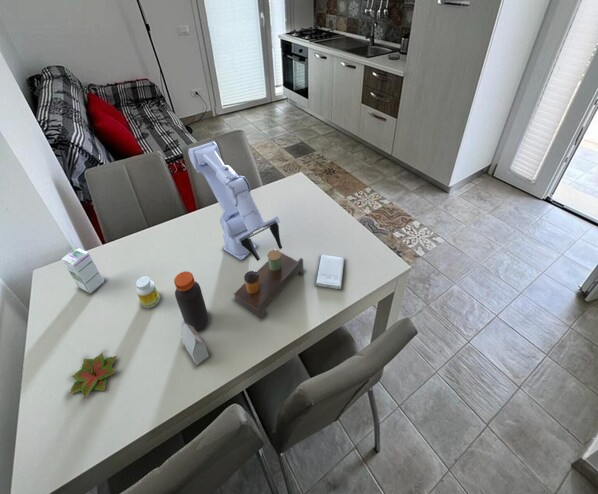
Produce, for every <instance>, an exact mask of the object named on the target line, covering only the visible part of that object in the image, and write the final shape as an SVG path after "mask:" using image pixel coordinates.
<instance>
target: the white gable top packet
mask: <svg viewBox="0 0 598 494" xmlns="http://www.w3.org/2000/svg"><path fill="white" fill-rule="evenodd" d="M180 336H181V340H182V342H183V345H184V347H185V349H186V350H187V352H188V354H189V355H190V357H191V359H192V360H193V362H194V363H195V365H196V366H198V365H199V364H201V362H203V361H204V360H206V359H207V358H208V357H209V356H210V355H209V353H208V349H207V345H206V343H205V342H204V340H203V339H202V338H201V336H200V334H199V333H198V331H197V332H196V330H195V329H194V327H193V326H191V325H188V324H187V323H186V322H183V326H182V330H181V333H180Z"/></svg>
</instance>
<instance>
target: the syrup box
mask: <svg viewBox="0 0 598 494" xmlns="http://www.w3.org/2000/svg"><path fill="white" fill-rule="evenodd" d="M61 261H62V263H63V264H64V266H65V268H66V269H67V271H68V272H69V274H70V275H71V277H72V279H73V280H74V281H75V284H76V285H77V286H78V288H79V289H80V290H83V291H84V292H87V293H88V294H92V293H93V292H95V291H96V290H97V289H98V288H99V287H100V286H101V285H103V284H104V283H105V279H104V277H103V275H102V274H101V272H100V270H99V268H98V267H97V265H96V263H95V261H94V259H93V258H92V256H91V254H90V252H88V251H86V250H84V249H82V248H80V247H77V246H76V247H75V248H74V249H72V250H71V251H69V252H68V253H67V254H66V255H64V256H63V257H62V258H61Z"/></svg>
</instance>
